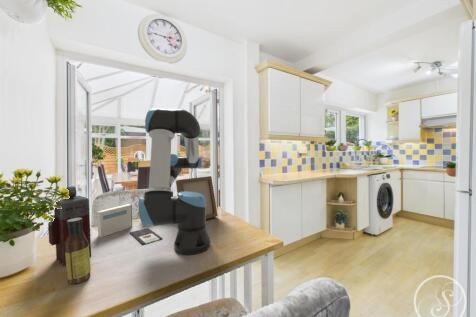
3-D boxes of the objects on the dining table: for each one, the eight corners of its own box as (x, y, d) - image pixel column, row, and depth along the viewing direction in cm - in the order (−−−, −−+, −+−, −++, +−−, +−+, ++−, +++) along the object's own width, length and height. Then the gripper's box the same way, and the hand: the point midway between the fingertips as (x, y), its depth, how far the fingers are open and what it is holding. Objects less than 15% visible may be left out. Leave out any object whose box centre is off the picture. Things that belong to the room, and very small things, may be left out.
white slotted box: (101, 237, 105) (100, 212, 104) (98, 235, 106) (97, 211, 106) (132, 226, 119) (131, 204, 118) (128, 225, 120) (128, 204, 120)
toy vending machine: (48, 261, 83) (44, 187, 81) (83, 250, 92) (80, 183, 90) (55, 269, 77) (51, 190, 76) (91, 256, 86) (88, 186, 85)
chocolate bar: (148, 227, 115) (162, 238, 102) (148, 229, 115) (162, 240, 102) (129, 232, 109) (142, 243, 96) (129, 234, 109) (142, 245, 96)
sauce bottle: (95, 273, 74) (92, 215, 73) (82, 284, 68) (80, 222, 67) (75, 273, 74) (72, 216, 73) (61, 285, 68) (58, 222, 67)
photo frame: (217, 217, 133) (216, 176, 132) (185, 226, 118) (184, 180, 117) (204, 212, 144) (203, 174, 143) (173, 220, 129) (171, 178, 128)
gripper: (178, 187, 139) (158, 220, 126) (161, 185, 147) (140, 216, 134) (172, 180, 134) (150, 213, 121) (154, 178, 142) (131, 209, 129)
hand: (144, 215), depth 127 cm, fingers closed on stub, 3 cm apart
